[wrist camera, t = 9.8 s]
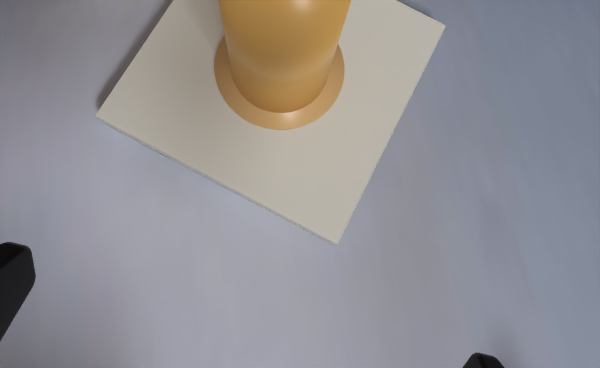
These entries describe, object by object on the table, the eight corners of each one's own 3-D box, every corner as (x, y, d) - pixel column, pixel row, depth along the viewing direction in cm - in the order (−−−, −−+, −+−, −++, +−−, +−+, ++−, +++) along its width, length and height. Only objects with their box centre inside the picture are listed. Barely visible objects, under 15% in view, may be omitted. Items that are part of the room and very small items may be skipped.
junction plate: (334, 245, 23) (337, 243, 21) (102, 122, 23) (93, 114, 22) (439, 34, 25) (447, 23, 24) (231, -71, 26) (230, -88, 25)
